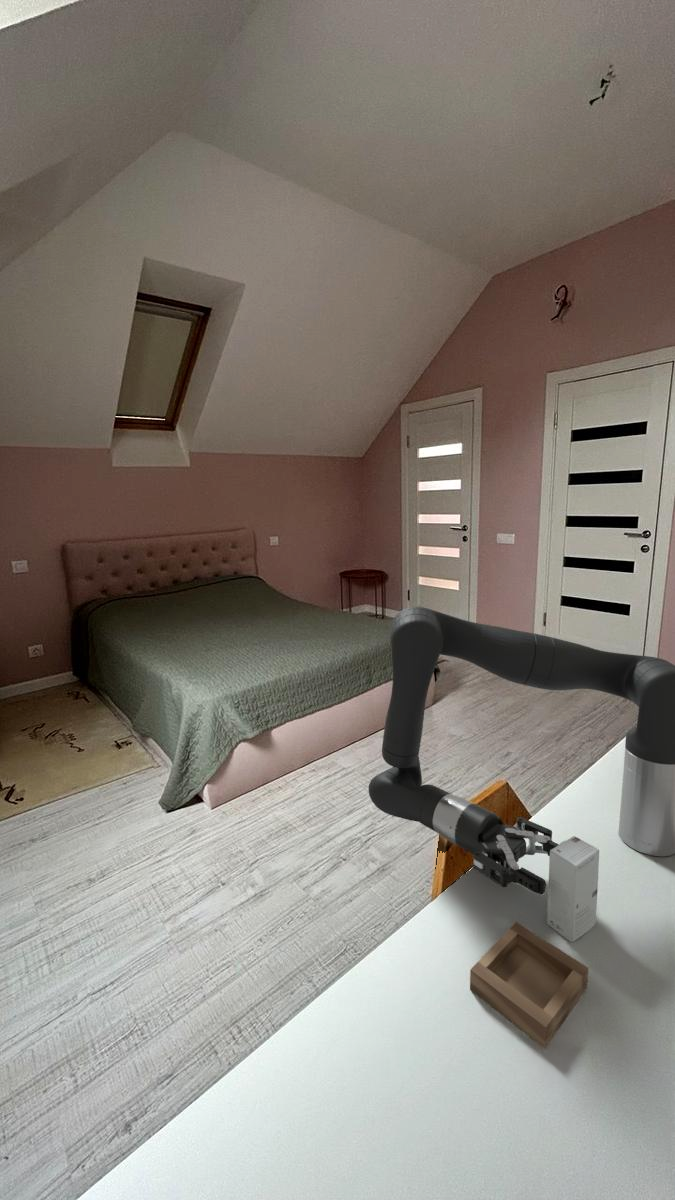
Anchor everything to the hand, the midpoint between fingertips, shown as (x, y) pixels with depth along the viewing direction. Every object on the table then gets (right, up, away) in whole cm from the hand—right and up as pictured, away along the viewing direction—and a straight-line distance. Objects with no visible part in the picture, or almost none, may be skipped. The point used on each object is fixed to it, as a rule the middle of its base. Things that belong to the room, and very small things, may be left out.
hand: (559, 873), depth 76 cm
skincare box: (+2, -7, 0) cm, 8 cm away
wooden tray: (-8, -9, -10) cm, 16 cm away
